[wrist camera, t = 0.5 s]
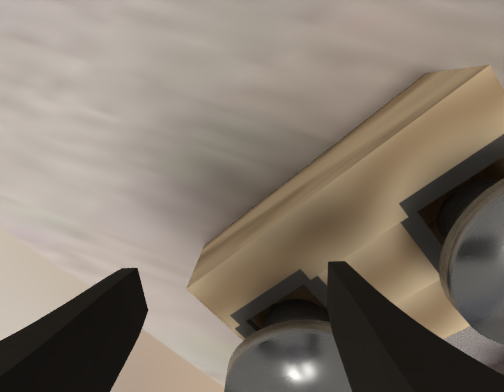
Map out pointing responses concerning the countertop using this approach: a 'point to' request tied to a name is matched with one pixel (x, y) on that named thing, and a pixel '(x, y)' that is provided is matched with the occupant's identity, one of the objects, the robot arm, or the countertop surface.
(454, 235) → the peg
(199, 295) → the block
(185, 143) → the countertop surface
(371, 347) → the robot arm
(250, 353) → the peg
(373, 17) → the countertop surface
